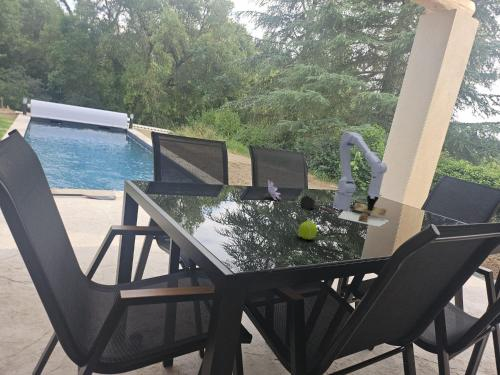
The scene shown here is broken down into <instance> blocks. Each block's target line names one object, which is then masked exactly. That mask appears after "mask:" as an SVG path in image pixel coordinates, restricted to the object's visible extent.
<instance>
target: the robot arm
mask: <svg viewBox="0 0 500 375" xmlns="http://www.w3.org/2000/svg"><path fill="white" fill-rule="evenodd" d="M354 146H357V148H358V149H359V150H360V151H361V152H362V154H364V159H365V161H366V162H367V164H368V165H369V167H370V171H371V178H370V182H369V187H368V191H367V196H366V200H367V205H368V210H369V211H372V210H373V207H375V205H376V203H377V201H379V197H382V194H380V193H381V188H382V184H383V183H382V182H383V179H384V174H385V173H386V172H387V171H388V167H387V165H386V163H385V162H382V160H381V159H379V157H378V154H377V152H374V151H371V149H370V148H369V147H368V146H367V144H366V142H365V141H364V139H363V136H362V135H361V134H360V133H359V132H354V131H349V130H346V131H344V132H343V133H342V135H340V144H339V157H340V158H339V160H340V171H341V172H340V173H341V174H340V176H341V177H340V179H339V180H338V183H337V184H338V185H337V191H338V192H335V194H334V198H333V203H332V208H333V209H338V210H342V211H343V210H344V211H349V212H351V211H350V210H351V208H350V207H351V202H352V198H353V195H354V194H355V193H356V191H357V185H356V184H355V180H354V178H353V176H352V164H351V149H352V148H353V147H354Z"/></svg>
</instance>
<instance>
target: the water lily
mask: <svg viewBox="0 0 500 375" xmlns="http://www.w3.org/2000/svg"><path fill="white" fill-rule="evenodd" d="M267 190H268V192H267V193H266V194H265V195H264V196H263V198H266V197H267V196H268V195H269V194H270V197H272V199H274V201H275V200H277V199H279V200H282V198H281V197H280V195H281V193H280V192H279V191H278V187H275V186H274V182H273V181H270V179H267ZM276 197H277V198H276Z"/></svg>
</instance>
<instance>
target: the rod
mask: <svg viewBox="0 0 500 375" xmlns="http://www.w3.org/2000/svg"><path fill="white" fill-rule="evenodd" d="M354 205H355V206H354V210H355V211H358V212H359V211H360V212H362V213H367V214H374V215H378V216H383V217H386V214H387V208H383V207H378V206H374V207H373V210H372V211H369V210H368V204H365V203H360V202H355V204H354Z"/></svg>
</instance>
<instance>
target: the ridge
mask: <svg viewBox="0 0 500 375" xmlns="http://www.w3.org/2000/svg"><path fill="white" fill-rule="evenodd" d="M361 214H362V215H360V217H359V221H361V222H366V223H367V220H368V216H369V215H368V213H367V212H362V213H361Z"/></svg>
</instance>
